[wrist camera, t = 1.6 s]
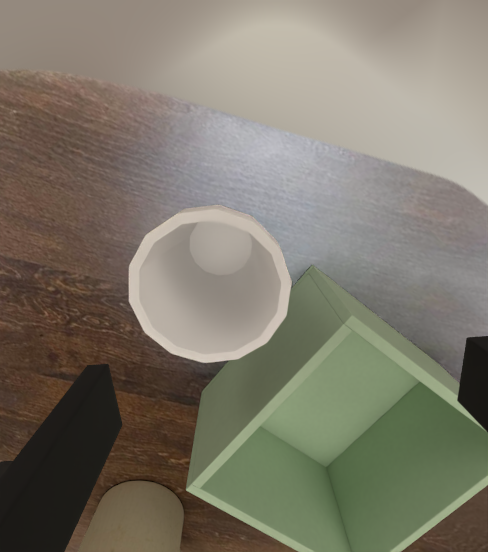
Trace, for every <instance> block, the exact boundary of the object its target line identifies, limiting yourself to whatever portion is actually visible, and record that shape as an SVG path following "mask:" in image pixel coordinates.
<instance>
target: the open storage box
mask: <svg viewBox="0 0 488 552" xmlns="http://www.w3.org/2000/svg"><path fill="white" fill-rule="evenodd" d="M459 386H460V384H459V383H458V382H457V381H456V380H455V379H454V378H453V377H452V376H451V375H450V374H449V373H448V372H446V371H445V370H444V369H443V368H442V367H441V366H440V365H439V364H438V363H437V362H435V361H434V360H433V359H432V358H430V357H429V356H428V355H427V354H425V353H424V352H423V351H422V350H420V349H419V348H418V347H416V346H415V345H414V344H413V343H411V342H410V341H409V340H408V339H406V338H405V337H404V336H402V335H401V334H400V333H399V332H397V331H396V330H395V329H394V328H392V327H391V326H390V325H388V324H387V323H386V322H385V321H383V320H382V319H381V318H380V317H378V316H377V315H376V314H374V313H373V312H372V311H371V310H369V309H368V308H367V307H366V306H364V305H363V304H362V303H361V302H359V301H358V300H357V299H355V298H354V297H353V296H352V295H350V294H349V293H348V292H347V291H345V290H344V289H343V288H341V287H340V286H339V285H338V284H336V283H335V282H334V281H333V280H331V279H330V278H329V277H327V276H326V275H325V274H324V273H322V272H321V271H320V270H319V269H317V268H316V267H315V266H314V265H311V267H310V268H309V269H308V270H307V271H306V272H305V274H304V275H303V276H302V277H301V278H300V279H299V280H298V282H297V283H296V284H295V285H294V286H293V287H292V289H291V291H290V297H289V303H288V309H287V316H286V317H285V318H284V320H283V321H282V323H281V324H280V325H279V327H278V328H277V330H276V331H275V332H274V334H273V335H272V337H271V338H270V339H269V341H268V342H267V343H266V344H264V345H262V346H260V347H259V348H257V349H255V350H253V351H252V352H250V353H248V354H246V355H245V356H243V357H241V358H239V359H236V360H229V361H228V362H227V363H226V364H225V366H224V367H223V368H222V369H221V370H220V371H219V372H218V374H217V375H216V376H215V377H214V378H213V379H212V381H211V382H210V383H209V384H208V385H207V386H206V387H205V389H204V390H203V391H202V394H201V400H200V406H199V412H198V418H197V425H196V431H195V437H194V443H193V449H192V455H191V461H190V467H189V473H188V479H187V485H186V491H188V492H190V493H192V494H194V495H195V496H197V497H199V498H201V499H203V500H205V501H206V502H208V503H210V504H212V505H214V506H216V507H218V508H219V509H221V510H223V511H225V512H227V513H229V514H230V515H232V516H234V517H236V518H238V519H240V520H241V521H243V522H245V523H247V524H249V525H251V526H253V527H254V528H256V529H258V530H260V531H262V532H264V533H265V534H267V535H269V536H271V537H273V538H275V539H276V540H278V541H280V542H282V543H284V544H286V545H288V546H289V547H291V548H293V549H295V550H297V551H299V552H401V551H402V550H404V549H405V548H406V547H407V546H409V545H410V544H411V543H413V542H414V541H415V540H417V539H418V538H419V537H421V536H422V535H423V534H424V533H426V532H427V531H428V530H430V529H431V528H432V527H434V526H435V525H436V524H437V523H439V522H440V521H441V520H443V519H444V518H445V517H447V516H448V515H449V514H450V513H452V512H453V511H454V510H456V509H457V508H458V507H460V506H461V505H462V504H463V503H465V502H466V501H467V500H469V499H470V498H471V497H473V496H474V495H475V494H476V493H478V492H479V491H480V490H482V489H483V488H484V487H486V486H487V485H488V432H487V431H486V430H485V429H484V428H483V427H482V426H481V425H480V424H479V423H478V422H477V421H476V420H475V419H474V418H473V417H472V416H471V415H470V413H469V412H468V411H467V410H466V409H465V408H464V407H463V406H462V405H461V404H460V403H459V402H458V401H457V399H458V392H459Z"/></svg>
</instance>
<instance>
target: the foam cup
mask: <svg viewBox="0 0 488 552" xmlns="http://www.w3.org/2000/svg"><path fill="white" fill-rule="evenodd" d="M291 284H292V281H291V278H290V275H289V272H288V269H287V266H286V263H285V260H284V257H283V254H282V251H281V248H280V246H279V244H278V243H277V241H276V239H275V238H274V237H273V236H272V235H271V234H270V233H269V232H268V231H267V230H266V229H265V228H264V227H263V226H262V225H261V224H260V223H259V222H258V221H257V220H256V219H255V218H254V217H253V216H251V215H248V214H245V213H242V212H239V211H236V210H233V209H230V208H228V207H225V206H222V205H211V206H203V207H195V208H187V209H183V210H182V211H180V212H179V213H177V214H176V215H174V216H173V217H171V218H170V219H168V220H167V221H165V222H164V223H162V224H161V225H159V226H158V227H156V228H155V229H154V230H152V231H151V232H149V233H148V234H146V235H145V237H144V239H143V241H142V243H141V245H140V247H139V248H138V250H137V252H136V254H135V256H134V258H133V260H132V262H131V263H130V265H129V303H130V304H131V306H132V308H133V310H134V312H135V314H136V316H137V318H138V320H139V322H140V324H141V326H142V328H143V330H144V332H145V333H146V334H147V335H149V336H150V337H151V338H152V339H154V340H155V341H156V342H157V343H159V344H160V345H161V346H162V347H164V348H165V349H166V350H167V351H169V352H170V353H171V354H174V355H178V356H181V357H185V358H188V359H192V360H195V361H199V362H202V363H209V362H218V361H227V360H236V359H239V358H241V357H243V356H245V355H246V354H248V353H250V352H252V351H253V350H255V349H257V348H259V347H260V346H262V345H264V344H266V343H267V342H268V341H269V339H270V338H271V337H272V335H273V334H274V332H275V331H276V330H277V328H278V327H279V325H280V324H281V323H282V321H283V320H284V318H285V317H286V316H287V309H288V303H289V297H290V291H291Z"/></svg>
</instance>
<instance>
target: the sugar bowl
mask: <svg viewBox="0 0 488 552" xmlns="http://www.w3.org/2000/svg"><path fill="white" fill-rule="evenodd" d="M183 521H184V510H183V506H182V504H181V502H180V500H179V499H178V497H177V496H176V495H175V494H174V493H173V492H172V491H171V490H169V489H167V488H166V487H164V486H162V485H160V484H157V483H154V482H149V481H128V482H124V483H121V484H119V485H116V486H114V487H113V488H111V489H110V490H108V491H107V492H106V493H105V494H104V496H103V497H102V499H101V501H100V503H99V505H98V507H97V509H96V512H95V514H94V516H93V518H92V520H91V523H90V525H89V527H88V529H87V531H86V534H85V536H84V538H83V540H82V543H81V545H80V547H79V550H78V552H181V550H180V543H181V536H182V528H183Z"/></svg>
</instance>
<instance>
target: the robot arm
mask: <svg viewBox="0 0 488 552" xmlns="http://www.w3.org/2000/svg"><path fill="white" fill-rule="evenodd" d="M457 401H458V402H459V403H460V404H461V405H462V406H463V407H464V408H465V409H466V410H467V411H468V412H469V413H470V415H471V416H472V417H473V418H474V419H475V420H476V421H477V422H478V423H479V424H480V425H481V426H482V427H483V428H484V429H485V430H486V431H487V432H488V336H482V337H469V338H467V340H466V347H465V353H464V360H463V366H462V373H461V379H460V386H459V392H458V399H457ZM121 427H122V421H121V417H120V412H119V408H118V404H117V399H116V395H115V391H114V386H113V382H112V378H111V373H110V369H109V365H108V364H100V365H87V367H86V368H85V369H84V371H83V372H82V373H81V374H80V376H79V377H78V378H77V380H76V381H75V382H74V383H73V385H72V386H71V387H70V389H69V390H68V391H67V392H66V394H65V395H64V396H63V398H62V399H61V400H60V401H59V403H58V404H57V405H56V407H55V408H54V409H53V410H52V412H51V413H50V414H49V416H48V417H47V418H46V419H45V421H44V422H43V423H42V425H41V426H40V427H39V428H38V430H37V431H36V432H35V434H34V435H33V436H32V437H31V439H30V440H29V441H28V443H27V444H26V445H25V446H24V448H23V449H22V450H21V452H20V453H19V454H18V456H17V457H16V458H15V459H14V461H4V462H0V552H64V551H65V549H66V547H67V545H68V543H69V540H70V538H71V536H72V534H73V532H74V530H75V527H76V525H77V523H78V521H79V519H80V516H81V514H82V512H83V510H84V508H85V505H86V503H87V501H88V499H89V497H90V494H91V492H92V490H93V488H94V486H95V484H96V481H97V479H98V477H99V475H100V473H101V470H102V468H103V466H104V464H105V462H106V459H107V457H108V455H109V453H110V451H111V449H112V446H113V444H114V442H115V440H116V438H117V435H118V433H119V431H120V429H121Z"/></svg>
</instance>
